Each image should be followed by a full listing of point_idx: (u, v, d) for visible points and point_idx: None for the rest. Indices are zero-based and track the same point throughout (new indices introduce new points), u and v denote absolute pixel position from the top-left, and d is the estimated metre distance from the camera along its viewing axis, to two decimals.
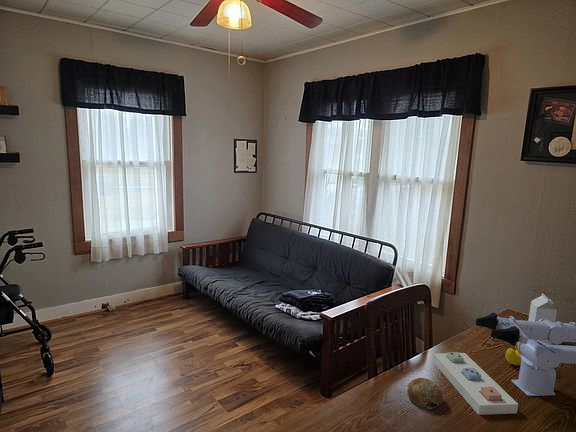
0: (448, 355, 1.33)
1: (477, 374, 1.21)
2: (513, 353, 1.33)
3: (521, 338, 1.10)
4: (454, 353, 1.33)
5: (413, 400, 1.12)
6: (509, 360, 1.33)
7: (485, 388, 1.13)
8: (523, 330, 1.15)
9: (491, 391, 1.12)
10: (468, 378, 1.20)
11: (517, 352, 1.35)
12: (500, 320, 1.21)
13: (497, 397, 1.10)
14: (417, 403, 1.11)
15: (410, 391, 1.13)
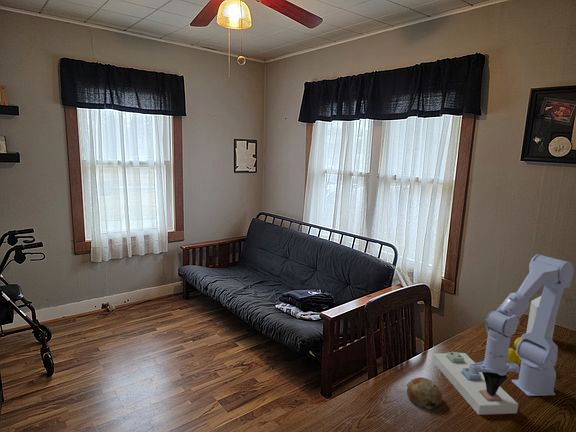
0: (448, 355, 1.33)
1: (477, 374, 1.21)
2: (513, 353, 1.33)
3: None
4: (454, 353, 1.33)
5: (412, 400, 1.12)
6: (509, 360, 1.33)
7: (485, 391, 1.13)
8: None
9: None
10: (468, 378, 1.20)
11: None
12: None
13: (497, 400, 1.11)
14: (416, 403, 1.11)
15: (409, 391, 1.14)
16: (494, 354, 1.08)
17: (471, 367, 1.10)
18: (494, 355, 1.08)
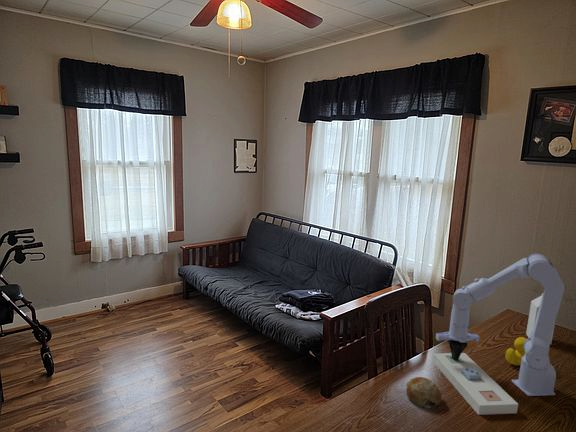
0: None
1: (477, 374, 1.21)
2: (513, 353, 1.33)
3: None
4: None
5: (412, 399, 1.13)
6: (509, 360, 1.33)
7: (485, 394, 1.13)
8: None
9: (491, 396, 1.12)
10: (468, 378, 1.20)
11: (517, 352, 1.35)
12: None
13: None
14: (416, 402, 1.12)
15: (409, 390, 1.14)
16: (450, 321, 1.30)
17: (437, 335, 1.30)
18: (456, 325, 1.28)
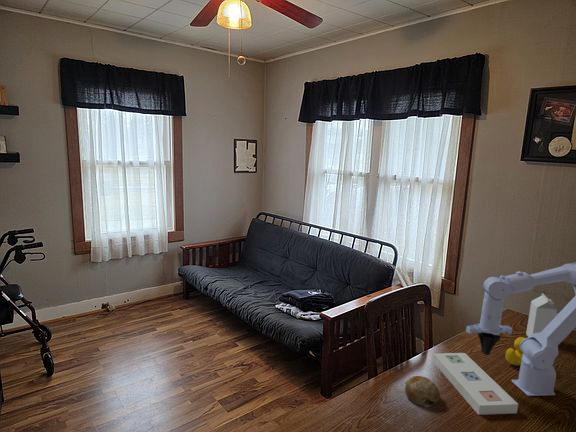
0: None
1: (477, 379, 1.21)
2: (513, 353, 1.33)
3: None
4: (453, 358, 1.33)
5: (411, 398, 1.13)
6: (509, 360, 1.33)
7: (485, 394, 1.13)
8: None
9: (491, 396, 1.12)
10: None
11: (517, 352, 1.35)
12: None
13: None
14: (415, 401, 1.12)
15: (408, 389, 1.14)
16: (484, 313, 1.19)
17: (468, 328, 1.20)
18: (489, 317, 1.18)
